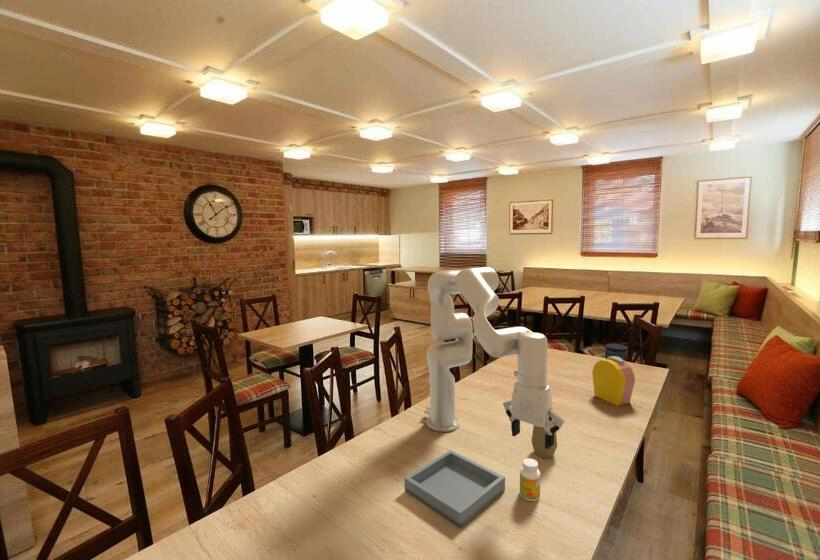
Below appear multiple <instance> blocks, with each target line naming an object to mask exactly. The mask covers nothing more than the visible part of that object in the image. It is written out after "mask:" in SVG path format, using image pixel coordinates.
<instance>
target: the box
mask: <svg viewBox="0 0 820 560" xmlns="http://www.w3.org/2000/svg"><path fill="white" fill-rule="evenodd" d="M405 491H406V493H407V494H408V493H409V495H410V496H412V497H413V498H414V499H416V500H417V501H418V502H419V501H420V503H422V504H424V505H425V506H427V507H428V508H430V509H431V510H432V511H434V512H435V513H437V514H439V515H440V516H441V517H443V518H444V519H446V520H448V521H449V522H450V523H452V524H453V525H455V526H457V528H459V529H461V528H463V527H464V526H466V525H467V524H468V522H470V521H471V520H472V519H473V518H474V517H476V516H477V515H478V514H479V513H480V512H482V511H483V510H484V509H485V508H486V507H487V506H488V505H489V504H491V503H492V502H493V501H494V500H495V499H497V498H498V497H499V496H500V495H501V494H503V492H504V493H505V491H506V477H505V476H504V475H502V474H500V473H498V472H496V471H494V470H492V469H489V468H487V467H486V466H484V465H481V464H479V463H477V462H475V461H474V460H472V459H470V458H467V457H466V456H463V455H462V454H459V453H457V452H456V451H454V450H451V449H449V450H448V451H446V452H445V453H443V454H441V455H439V456H438V457H437V458H435V459H433V460H432V461H430V462H427V463H426V464H425V465H424V466H422V467H420V468H419V469H417V470H416V471H414V472H412V473H410V474H408V475H407V476H405V477H404V492H405Z"/></svg>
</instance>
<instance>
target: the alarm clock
mask: <svg viewBox="0 0 820 560" xmlns="http://www.w3.org/2000/svg"><path fill="white" fill-rule="evenodd" d="M634 372H635V371H634V370H633V368H632V367H631V365H629V363H628V362H627V360H626V361H624V360H623V359H621V358H620V357H616V356H611V357H607V359H606V358H604V359H601V360H599V361H596V363H595V364H594V365H593V367H592V384H593V391H594V392H593V393H594V396H595V397H597V398H599V399H602V400H604V401H606V402H608V403H610V404H612V405H614V406H620V405H626V404H629V403H631V398H632V395H633V390H634V387H635V382H636V376H635V373H634Z"/></svg>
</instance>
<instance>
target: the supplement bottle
mask: <svg viewBox="0 0 820 560" xmlns="http://www.w3.org/2000/svg"><path fill="white" fill-rule="evenodd" d="M519 469H520V470H519V495H520V497H521V498H522V499H523V500H525V501H529V502H537V501H538V500H539V499H540V498H541V471H540V470H539V463H538V461H537V460H536V459H534V458H531V457H529V458H524V459H522V467H521V468H519Z"/></svg>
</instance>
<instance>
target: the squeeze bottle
mask: <svg viewBox="0 0 820 560" xmlns="http://www.w3.org/2000/svg"><path fill="white" fill-rule="evenodd" d="M551 422H552V423H553V425H554V426H555V425H556V423H555V420H553V419H552V421H551ZM546 433H547V432H546V431H545V429H544V428H543V427H539V426H535V425H533V426H532V433H531V434H532V435H531V445H532V448H533V451H534V453H535V455H537V456H538V457H539V458H544V459H545V458H546V459H547V458H548V459H549V458H552V457H554V456H555V453H556V450H557V448H558V440H557V439H558V437H557V431H556V432H555V433H554V445H553V446H551V447H550V448H549V449H546V448H545V434H546Z"/></svg>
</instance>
